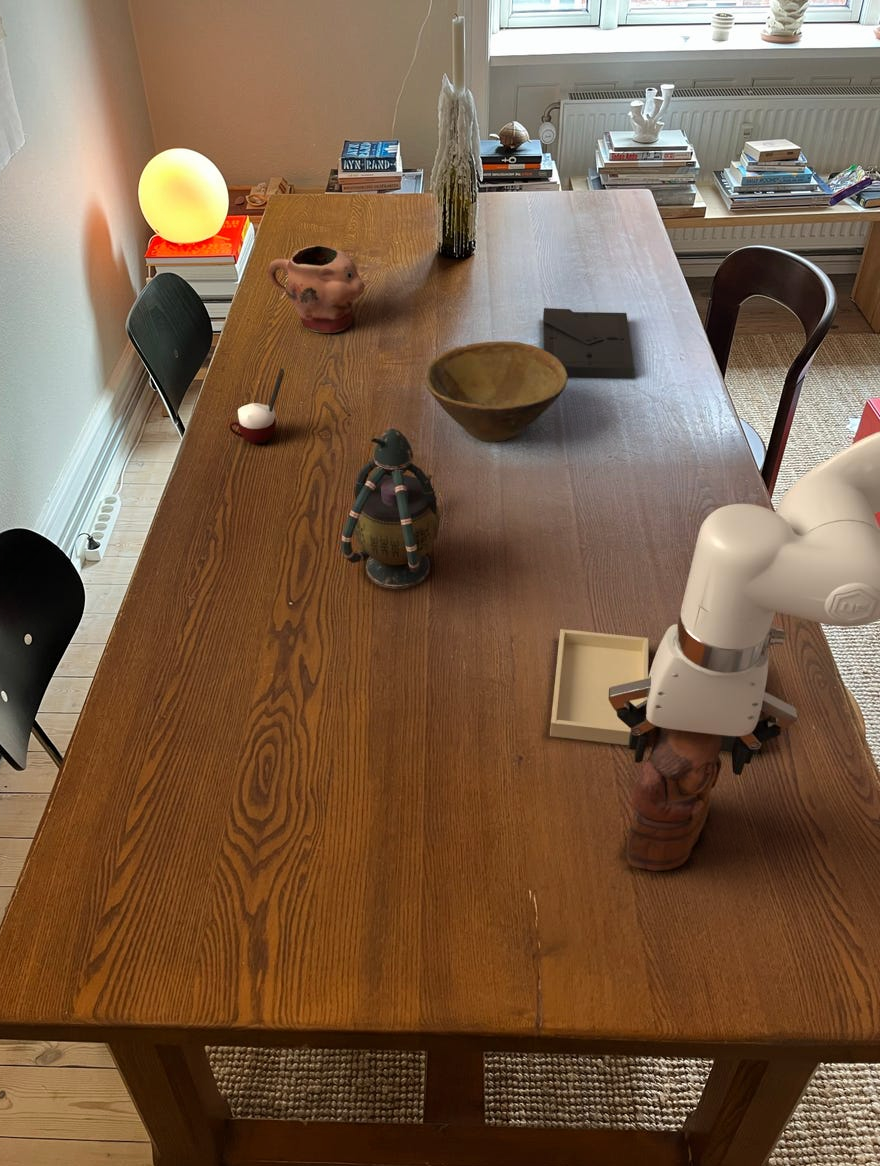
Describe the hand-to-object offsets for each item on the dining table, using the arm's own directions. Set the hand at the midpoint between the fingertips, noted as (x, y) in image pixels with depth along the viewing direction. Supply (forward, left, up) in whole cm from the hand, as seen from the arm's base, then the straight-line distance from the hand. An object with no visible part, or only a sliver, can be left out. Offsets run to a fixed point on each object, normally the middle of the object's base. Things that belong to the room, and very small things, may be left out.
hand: (686, 757), depth 100 cm
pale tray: (+8, -21, -14) cm, 26 cm away
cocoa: (+66, -70, -14) cm, 97 cm away
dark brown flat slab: (+14, -107, -14) cm, 109 cm away
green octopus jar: (+37, -44, -14) cm, 59 cm away
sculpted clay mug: (+66, -111, -14) cm, 130 cm away
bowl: (+28, -79, -14) cm, 85 cm away
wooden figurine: (0, 0, -14) cm, 14 cm away
